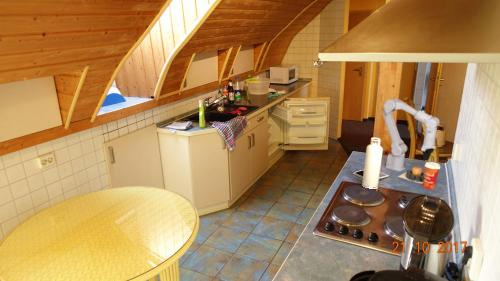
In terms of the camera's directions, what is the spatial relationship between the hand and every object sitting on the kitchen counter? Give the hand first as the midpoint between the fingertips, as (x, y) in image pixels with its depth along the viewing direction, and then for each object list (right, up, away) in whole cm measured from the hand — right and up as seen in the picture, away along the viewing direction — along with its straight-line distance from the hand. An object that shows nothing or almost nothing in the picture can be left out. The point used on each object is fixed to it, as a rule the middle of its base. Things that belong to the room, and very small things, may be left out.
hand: (425, 160), depth 207 cm
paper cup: (-6, -15, -14) cm, 21 cm away
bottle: (-38, -14, -15) cm, 44 cm away
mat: (-7, -10, -1) cm, 13 cm away
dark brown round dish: (-7, -10, -2) cm, 12 cm away
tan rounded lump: (-7, -10, -2) cm, 12 cm away
